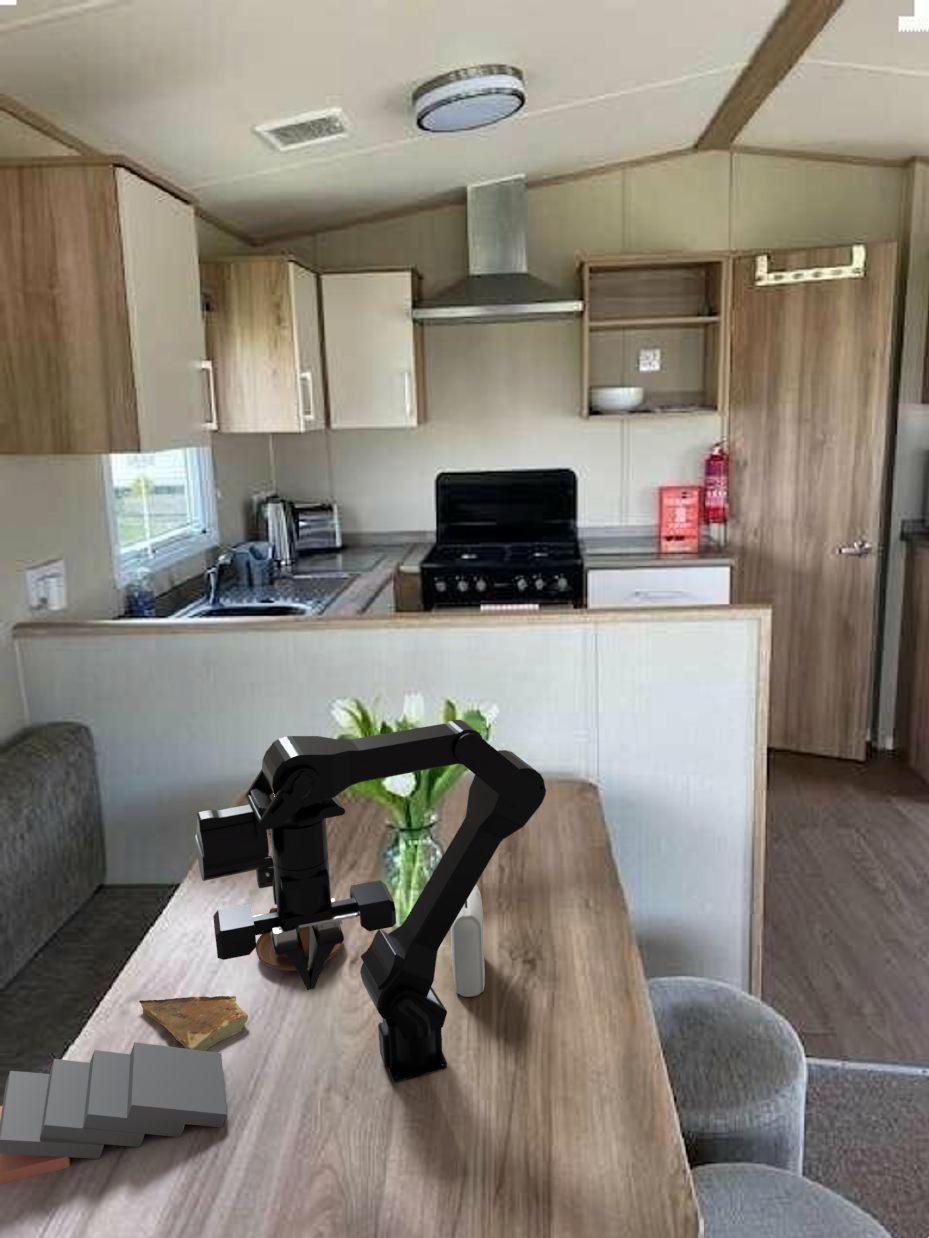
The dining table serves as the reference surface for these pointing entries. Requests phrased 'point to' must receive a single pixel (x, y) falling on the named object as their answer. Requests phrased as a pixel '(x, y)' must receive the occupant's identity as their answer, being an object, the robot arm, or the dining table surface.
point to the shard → (198, 1019)
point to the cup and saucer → (281, 961)
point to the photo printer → (468, 947)
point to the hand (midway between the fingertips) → (310, 987)
